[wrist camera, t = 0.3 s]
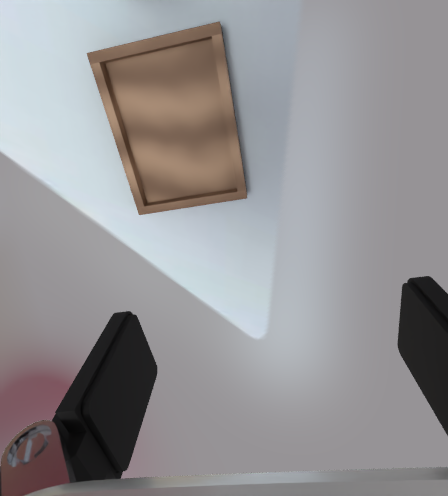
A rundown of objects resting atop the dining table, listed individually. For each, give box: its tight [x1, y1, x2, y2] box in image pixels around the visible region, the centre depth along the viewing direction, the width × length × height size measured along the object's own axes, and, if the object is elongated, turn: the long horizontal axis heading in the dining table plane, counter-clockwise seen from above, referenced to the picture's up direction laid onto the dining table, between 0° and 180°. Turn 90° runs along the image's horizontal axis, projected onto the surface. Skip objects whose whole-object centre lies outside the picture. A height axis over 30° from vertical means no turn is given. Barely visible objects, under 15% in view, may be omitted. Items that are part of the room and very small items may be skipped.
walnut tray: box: [87, 22, 247, 215], centre depth 36 cm, size 18×14×2 cm
